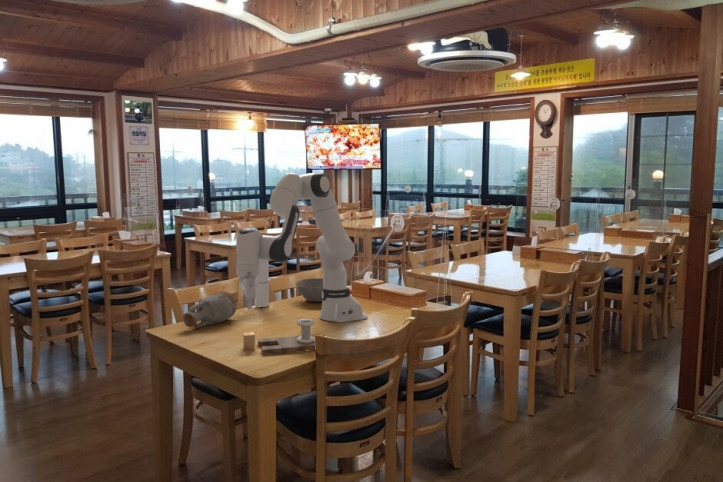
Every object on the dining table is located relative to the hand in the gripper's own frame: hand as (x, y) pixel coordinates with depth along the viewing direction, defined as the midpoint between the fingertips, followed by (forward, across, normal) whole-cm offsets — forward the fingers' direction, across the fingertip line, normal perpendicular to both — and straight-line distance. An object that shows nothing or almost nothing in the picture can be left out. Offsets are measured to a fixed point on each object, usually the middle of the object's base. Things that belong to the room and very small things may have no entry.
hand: (248, 305), depth 222 cm
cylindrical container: (+17, +66, -14) cm, 70 cm away
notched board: (+17, -2, -16) cm, 24 cm away
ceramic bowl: (+17, +71, -44) cm, 85 cm away
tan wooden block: (+17, 0, 0) cm, 17 cm away
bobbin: (+15, -2, -22) cm, 27 cm away
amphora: (+17, +41, +11) cm, 46 cm away
